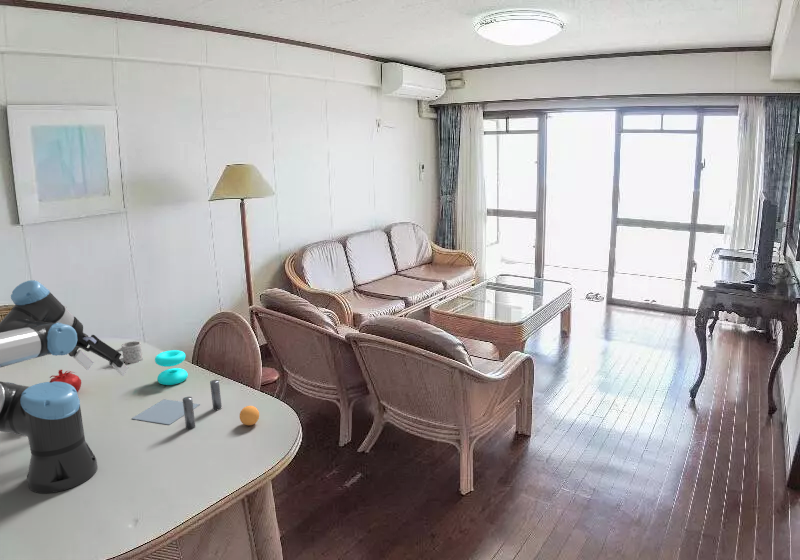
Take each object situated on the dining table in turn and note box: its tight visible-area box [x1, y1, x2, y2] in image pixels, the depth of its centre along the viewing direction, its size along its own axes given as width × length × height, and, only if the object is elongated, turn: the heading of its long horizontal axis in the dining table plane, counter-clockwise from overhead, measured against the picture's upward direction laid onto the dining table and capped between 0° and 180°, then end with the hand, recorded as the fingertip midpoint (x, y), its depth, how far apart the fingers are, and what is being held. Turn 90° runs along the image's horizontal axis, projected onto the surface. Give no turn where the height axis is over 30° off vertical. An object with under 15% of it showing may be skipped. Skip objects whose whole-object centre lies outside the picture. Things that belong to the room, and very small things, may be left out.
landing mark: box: [130, 398, 201, 426], centre depth 178 cm, size 14×14×1 cm
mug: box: [115, 340, 144, 364], centre depth 221 cm, size 10×7×7 cm
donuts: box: [154, 349, 189, 386], centre depth 201 cm, size 10×10×10 cm
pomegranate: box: [49, 369, 82, 393], centre depth 191 cm, size 10×10×9 cm
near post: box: [182, 396, 196, 430], centre depth 167 cm, size 3×3×9 cm
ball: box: [239, 405, 260, 426], centre depth 168 cm, size 6×6×6 cm
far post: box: [209, 379, 223, 411], centre depth 178 cm, size 3×3×9 cm
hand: (107, 368), depth 172 cm, fingers open, 13 cm apart
